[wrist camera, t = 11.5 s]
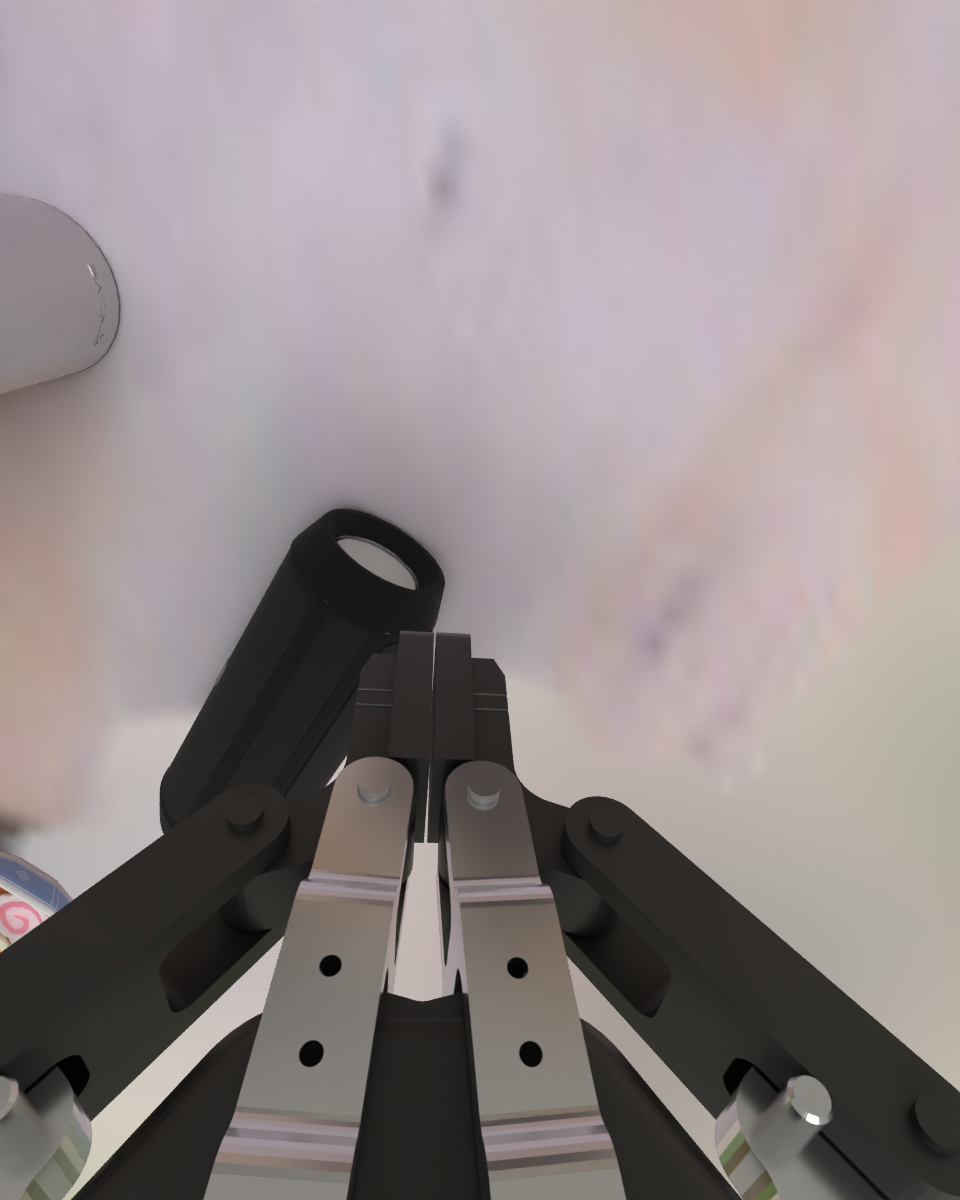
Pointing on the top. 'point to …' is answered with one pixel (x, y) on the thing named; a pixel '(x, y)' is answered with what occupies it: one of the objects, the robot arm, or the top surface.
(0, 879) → the ramen bowl
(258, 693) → the portable speaker
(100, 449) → the top surface
